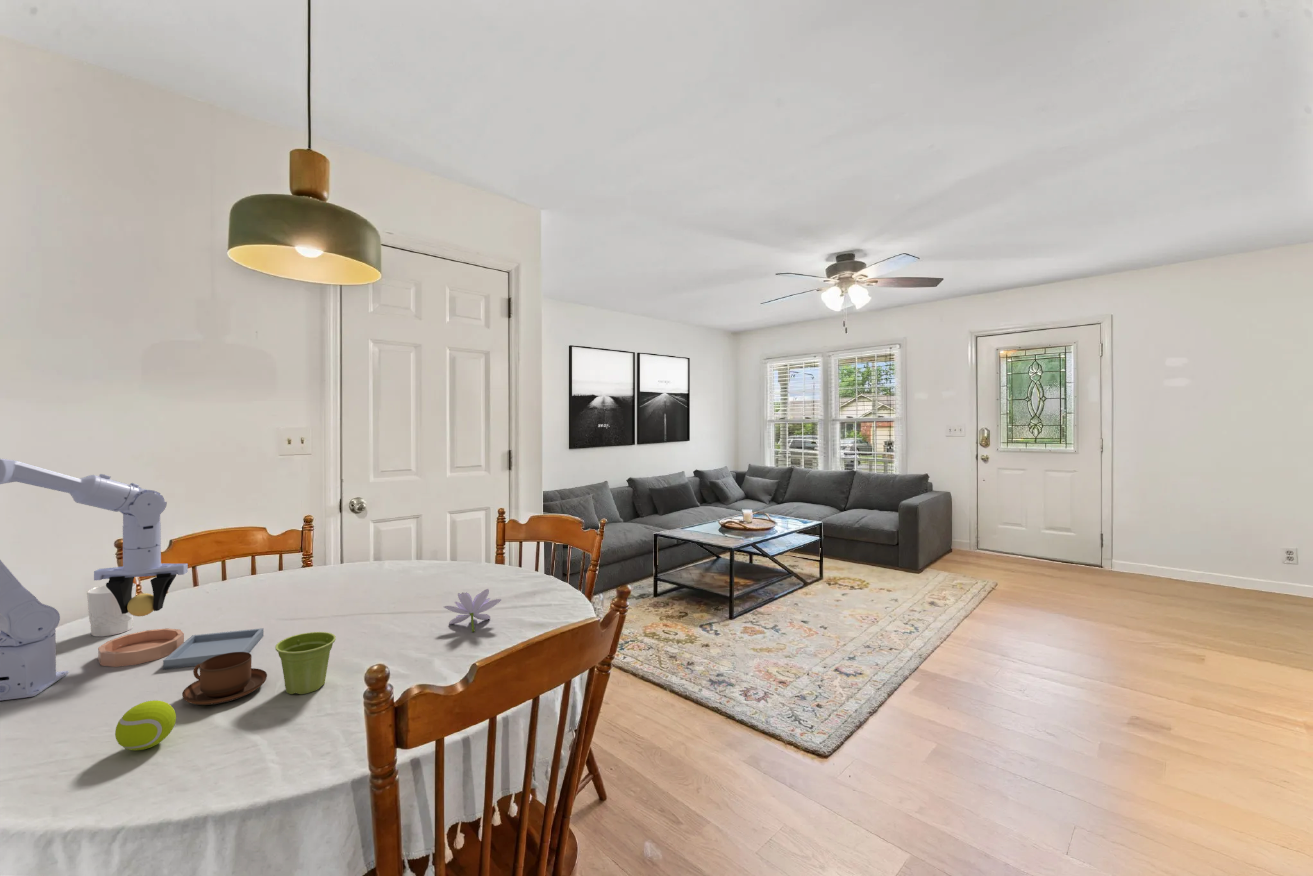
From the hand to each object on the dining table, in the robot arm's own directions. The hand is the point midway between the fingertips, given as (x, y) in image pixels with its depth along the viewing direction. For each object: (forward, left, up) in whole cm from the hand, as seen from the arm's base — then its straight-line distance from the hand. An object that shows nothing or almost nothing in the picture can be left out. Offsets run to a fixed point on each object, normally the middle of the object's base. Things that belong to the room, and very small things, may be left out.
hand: (142, 610), depth 112 cm
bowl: (0, 0, -9) cm, 9 cm away
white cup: (+16, +12, -9) cm, 22 cm away
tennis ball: (-40, -17, -9) cm, 44 cm away
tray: (-4, -14, -9) cm, 17 cm away
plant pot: (-27, -35, -9) cm, 45 cm away
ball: (0, 0, +1) cm, 1 cm away
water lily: (-5, -66, -9) cm, 66 cm away
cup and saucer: (-25, -22, -9) cm, 35 cm away
